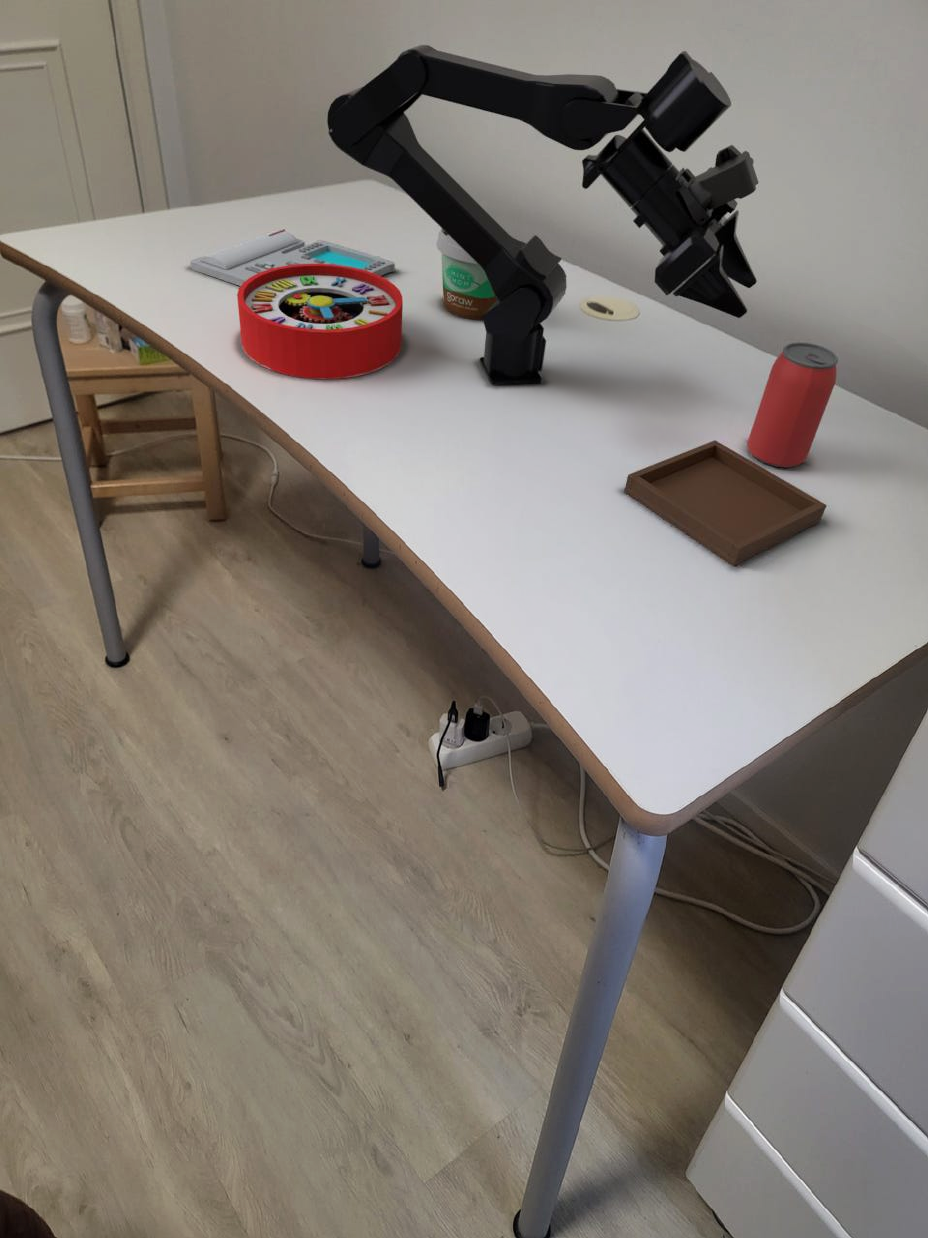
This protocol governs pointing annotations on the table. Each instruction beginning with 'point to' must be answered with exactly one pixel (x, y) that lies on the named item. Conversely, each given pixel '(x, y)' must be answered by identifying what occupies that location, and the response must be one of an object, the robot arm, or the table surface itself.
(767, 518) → the tray
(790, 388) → the beer can
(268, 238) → the office telephone
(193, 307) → the table surface
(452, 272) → the food container
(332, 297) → the toy clock
